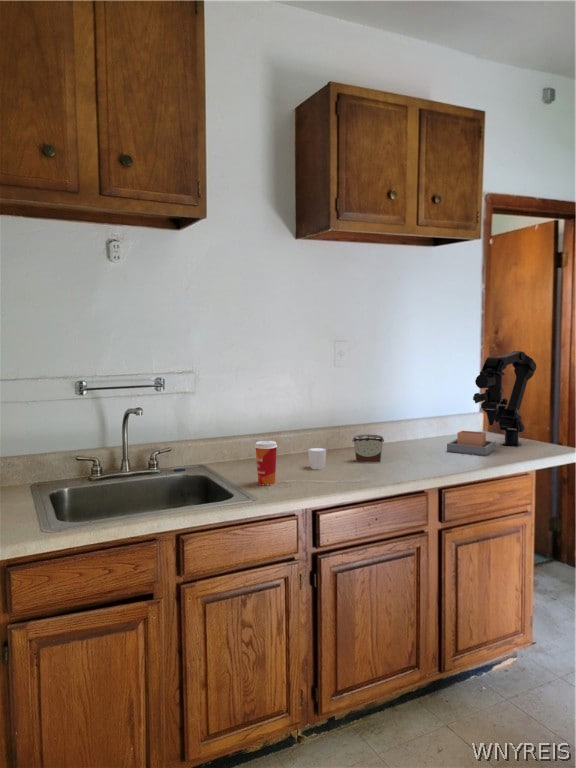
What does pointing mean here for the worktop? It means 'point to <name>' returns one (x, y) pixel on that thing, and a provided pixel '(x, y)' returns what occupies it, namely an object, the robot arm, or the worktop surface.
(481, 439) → the box
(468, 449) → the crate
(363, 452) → the food container
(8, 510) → the worktop surface
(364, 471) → the worktop surface
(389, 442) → the worktop surface
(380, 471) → the worktop surface
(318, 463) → the white ribbed cup
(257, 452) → the paper cup
